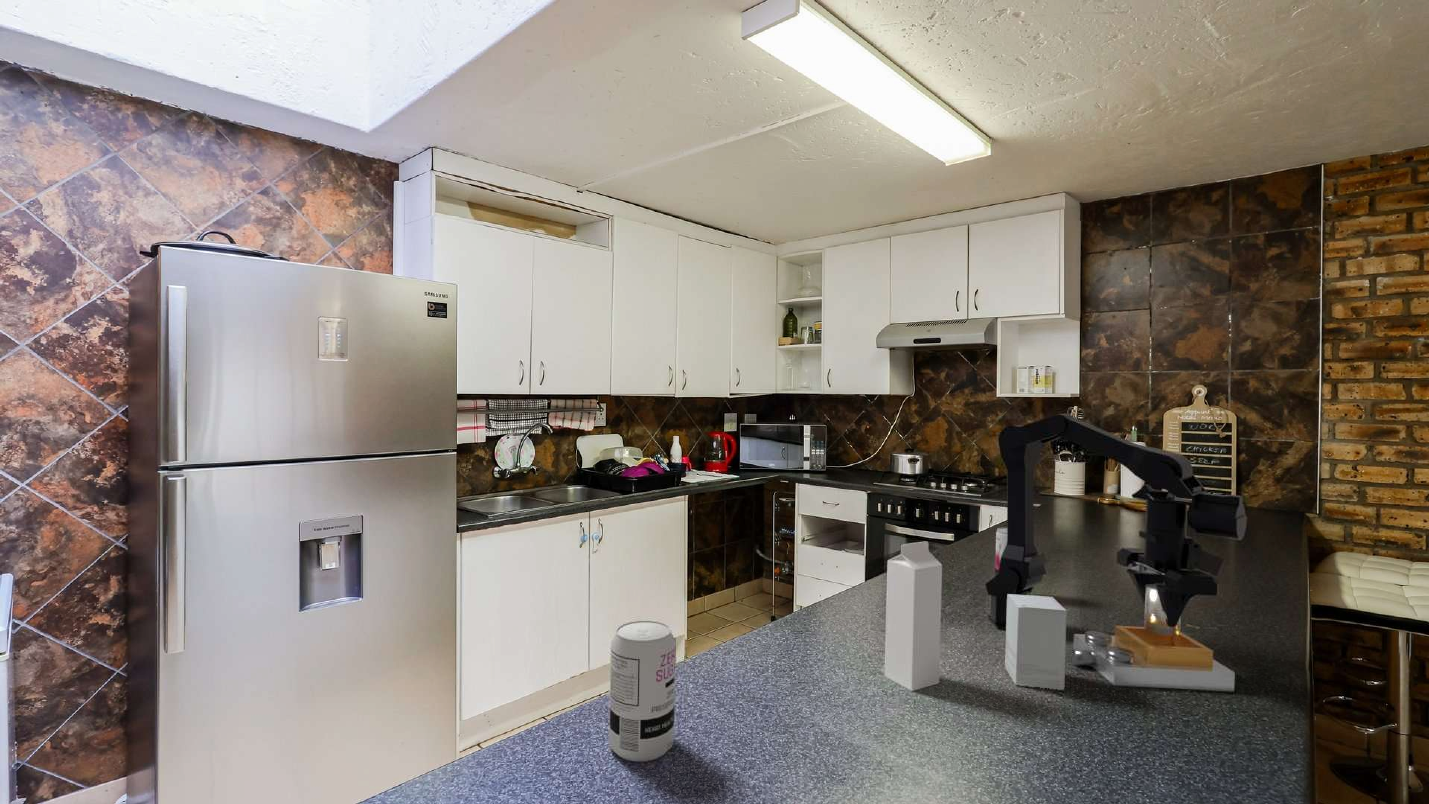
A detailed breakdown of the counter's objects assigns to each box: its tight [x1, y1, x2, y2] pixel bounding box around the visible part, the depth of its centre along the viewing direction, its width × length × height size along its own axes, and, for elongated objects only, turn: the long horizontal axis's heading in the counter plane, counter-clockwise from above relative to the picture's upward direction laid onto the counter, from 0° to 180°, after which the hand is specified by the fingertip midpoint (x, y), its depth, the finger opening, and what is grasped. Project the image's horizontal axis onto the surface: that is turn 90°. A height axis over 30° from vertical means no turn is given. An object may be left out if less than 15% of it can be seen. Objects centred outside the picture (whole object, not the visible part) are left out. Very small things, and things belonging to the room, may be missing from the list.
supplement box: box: [1004, 594, 1068, 691], centre depth 107 cm, size 7×7×13 cm
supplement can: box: [608, 620, 677, 762], centre depth 85 cm, size 8×8×15 cm
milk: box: [884, 541, 943, 692], centre depth 105 cm, size 6×6×22 cm
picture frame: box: [1070, 625, 1236, 692], centre depth 112 cm, size 21×14×6 cm, turn 86°
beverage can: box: [994, 527, 1007, 577], centre depth 150 cm, size 6×7×15 cm
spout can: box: [1143, 583, 1195, 636], centre depth 111 cm, size 7×5×8 cm
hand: (1161, 620), depth 111 cm, fingers closed on spout can, 5 cm apart
